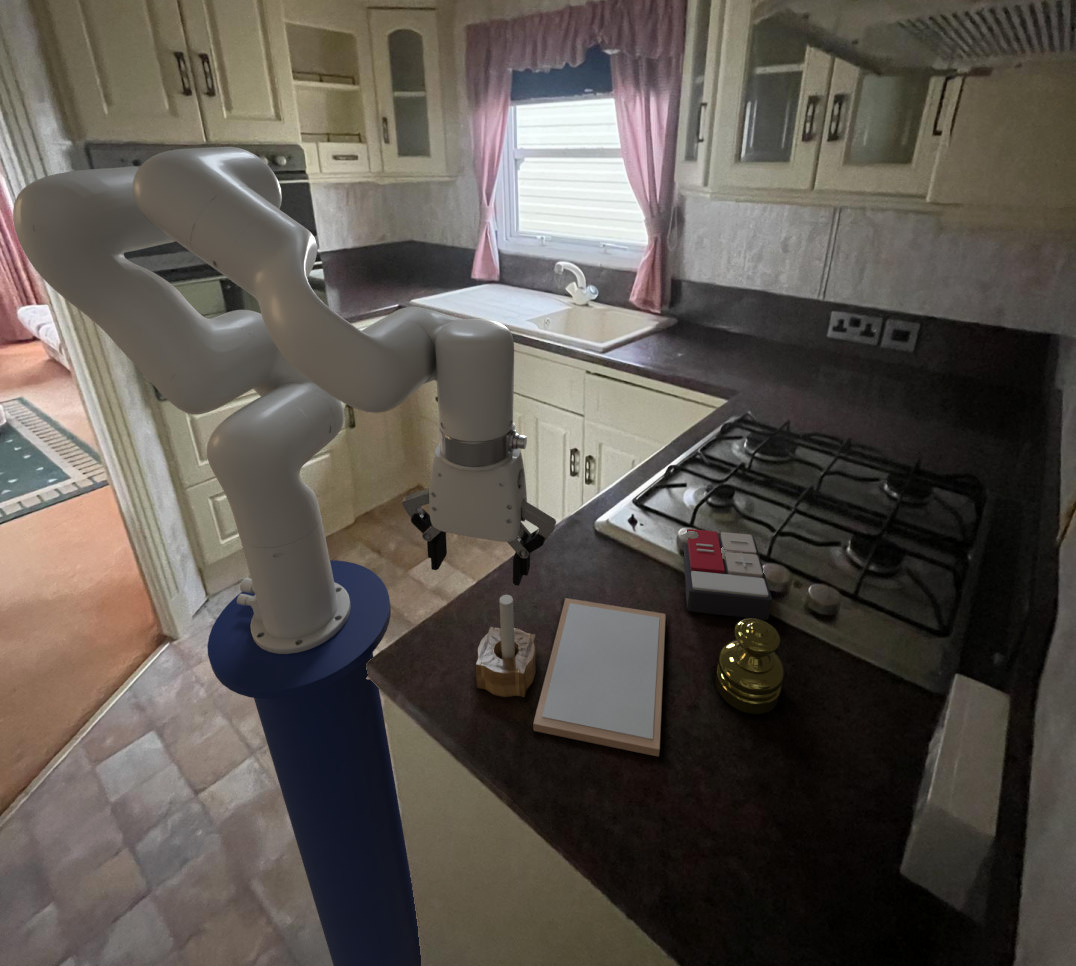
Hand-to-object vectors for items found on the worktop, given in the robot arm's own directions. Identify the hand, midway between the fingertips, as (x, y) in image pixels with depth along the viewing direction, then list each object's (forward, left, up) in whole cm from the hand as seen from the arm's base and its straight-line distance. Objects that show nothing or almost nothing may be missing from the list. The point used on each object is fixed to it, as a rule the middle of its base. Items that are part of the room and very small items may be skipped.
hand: (478, 569), depth 69 cm
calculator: (+30, +23, -16) cm, 41 cm away
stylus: (+3, 0, -16) cm, 16 cm away
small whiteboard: (+15, +3, -16) cm, 22 cm away
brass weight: (+32, +4, -16) cm, 36 cm away
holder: (+3, 0, -16) cm, 16 cm away
